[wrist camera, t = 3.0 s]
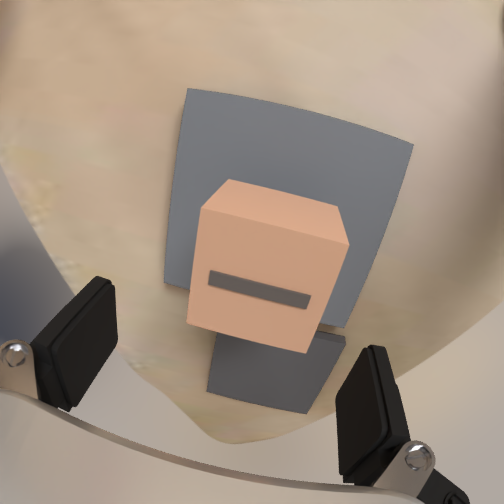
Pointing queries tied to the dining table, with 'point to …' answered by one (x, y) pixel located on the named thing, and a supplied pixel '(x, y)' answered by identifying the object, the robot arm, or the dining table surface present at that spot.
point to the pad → (273, 371)
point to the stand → (285, 177)
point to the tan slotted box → (265, 265)
